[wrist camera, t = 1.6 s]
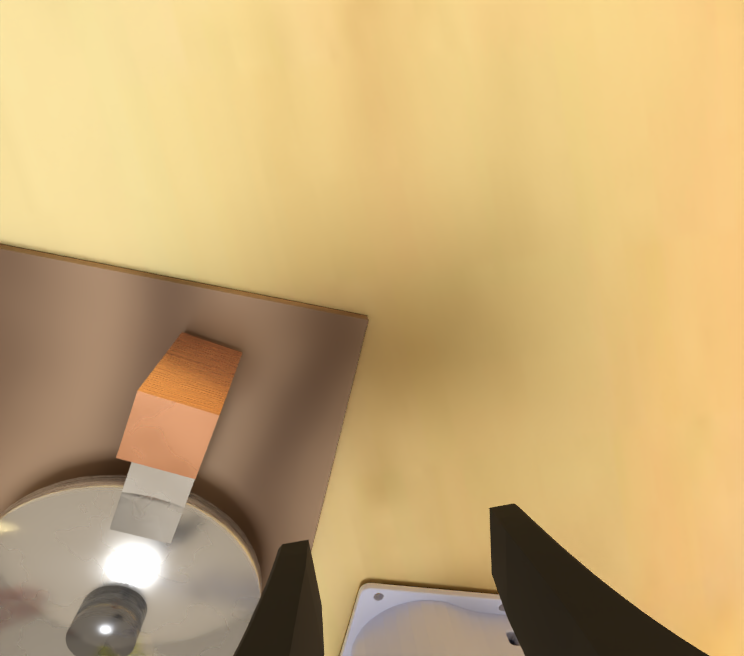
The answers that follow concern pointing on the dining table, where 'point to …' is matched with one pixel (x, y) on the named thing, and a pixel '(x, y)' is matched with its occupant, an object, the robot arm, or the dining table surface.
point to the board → (138, 359)
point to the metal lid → (135, 536)
